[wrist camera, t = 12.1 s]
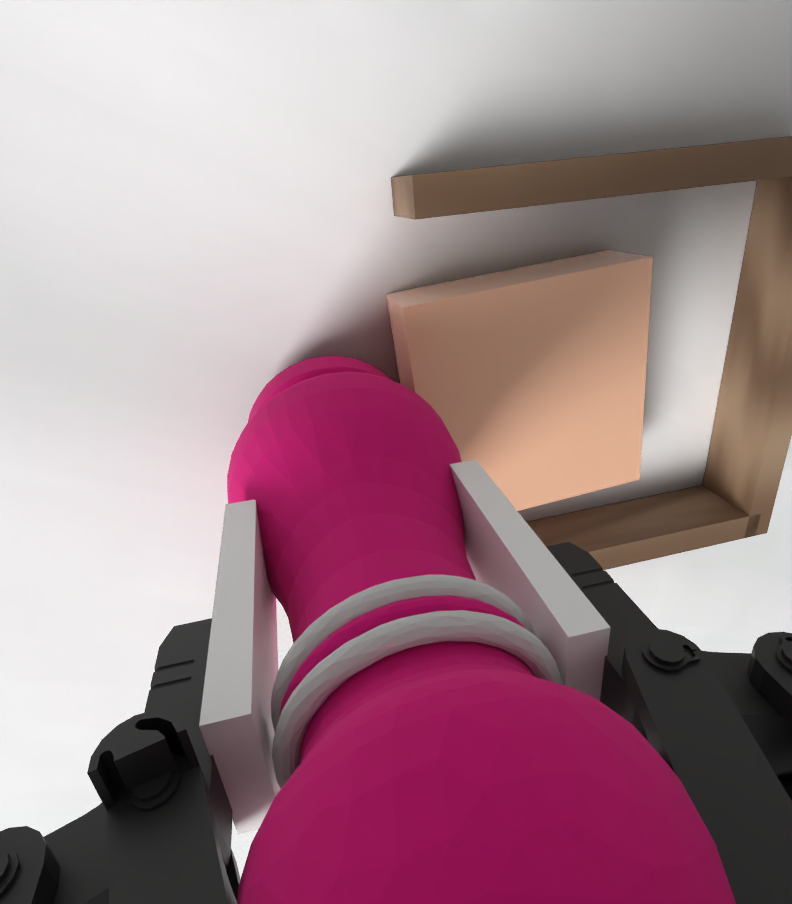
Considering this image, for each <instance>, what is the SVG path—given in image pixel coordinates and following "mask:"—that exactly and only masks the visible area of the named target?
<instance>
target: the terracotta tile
mask: <svg viewBox="0 0 792 904" xmlns="http://www.w3.org/2000/svg"><path fill="white" fill-rule="evenodd" d="M652 266H653V257H651V256H644V255H638V254H632V253H626V252H620V251H613V250H606V251H601V252H596V253H591V254H586V255H581V256H576V257H571V258H565V259H560V260H555V261H550V262H545V263H540V264H535V265H530V266H525V267H520V268H515V269H510V270H505V271H500V272H495V273H489V274H484V275H479V276H474V277H469V278H464V279H459V280H454V281H449V282H444V283H439V284H434V285H429V286H424V287H418V288H413V289H408V290H403V291H398V292H393V293H388V294H386V296H387V302H388V309H389V315H390V321H391V328H392V334H393V341H394V347H395V354H396V360H397V367H398V373H399V380H400V384H402V385H404V386H405V387H407V388H408V389H410V390H412V391H413V392H415V393H417V394H418V395H419V396H420V397H422V398H423V399H424V400H425V401H426V402H427V403H428V404H430V405H431V406H432V408H433V409H434V410H435V411H436V413H437V414H438V415H439V416H440V418H441V419H442V421H443V423H444V424H445V426H446V428H447V430H448V431H449V433H450V435H451V437H452V439H453V441H454V442H455V444H456V446H457V448H458V450H459V453H460V457H461V461H462V462H465V461H470V460H477V461H478V463H479V464H480V465H481V466H482V468H483V469H484V470H485V471H486V473H487V474H488V475H489V476H490V478H491V479H492V480H493V481H494V483H495V484H496V485H497V486H498V488H499V489H500V490H501V491H502V493H503V494H504V495H505V496H506V498H507V499H508V500H509V501H510V503H511V504H512V505H513V506H514V508H515V509H516V510H517V511H520V510H524V509H528V508H532V507H535V506H539V505H543V504H547V503H551V502H555V501H559V500H563V499H566V498H570V497H574V496H578V495H582V494H586V493H590V492H594V491H597V490H601V489H605V488H609V487H613V486H617V485H621V484H625V483H628V482H632V481H636V480H640V466H641V450H642V433H643V416H644V400H645V383H646V366H647V350H648V333H649V316H650V300H651V283H652Z"/></svg>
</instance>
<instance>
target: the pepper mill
mask: <svg viewBox="0 0 792 904" xmlns="http://www.w3.org/2000/svg"><path fill="white" fill-rule="evenodd" d="M459 462H462V461H461V457H460V453H459V450H458V448H457V446H456V444H455V442H454V441H453V439H452V437H451V435H450V433H449V431H448V430H447V428H446V426H445V424H444V423H443V421H442V419H441V418H440V416H439V415H438V414H437V413H436V411H435V410H434V409H433V408H432V406H431V405H430V404H428V403H427V402H426V401H425V400H424V399H423V398H422V397H420V396H419V395H418V394H417V393H415V392H413V391H412V390H410V389H408V388H407V387H405V386H404V385H402V384H399V383H397V382H395V381H392V380H391V379H390V378H389V377H388V376H387V375H386V374H385V373H383V372H382V371H380V370H379V369H377V368H376V367H374V366H372V365H370V364H368V363H366V362H363V361H361V360H359V359H354V358H349V357H344V356H321V357H316V358H311V359H307V360H304V361H302V362H299V363H297V364H294V365H292V366H289V367H288V368H286V369H285V370H283V371H282V372H281V373H279V374H278V375H276V376H275V377H274V378H273V379H272V380H271V381H270V382H269V383H268V384H267V385H266V386H265V388H264V389H263V390H262V392H261V393H260V395H259V396H258V398H257V399H256V401H255V403H254V405H253V407H252V410H251V412H250V415H249V420H248V423H247V425H246V427H245V428H244V430H243V432H242V433H241V435H240V437H239V439H238V441H237V443H236V446H235V448H234V450H233V452H232V455H231V460H230V466H229V471H228V476H227V492H228V504H231V503H237V502H243V501H248V500H256V505H257V512H258V519H259V526H260V534H261V541H262V547H263V553H264V559H265V564H266V570H267V576H268V581H269V584H270V586H271V589H272V591H273V594H274V595H275V596H276V598H277V599H278V600H279V602H280V603H281V604H282V606H283V608H284V610H285V612H286V614H287V616H288V619H289V623H290V628H291V633H292V638H293V642H294V644H293V645H292V647H291V649H290V650H289V652H288V653H287V655H286V656H285V658H284V659H283V662H282V664H281V666H280V669H279V671H278V673H277V676H276V679H275V682H274V686H273V690H272V696H271V719H272V723H273V728H274V732H275V736H274V740H273V747H272V760H273V766H274V771H275V775H276V780H277V783H278V785H279V787H280V789H281V790H280V791H279V792H278V794H277V795H276V796H275V798H274V800H273V802H272V804H271V806H270V808H269V810H268V812H267V814H266V816H265V818H264V820H263V822H262V824H261V826H260V828H259V830H258V832H257V834H256V836H255V838H254V840H253V842H252V844H251V847H250V850H249V853H248V857H247V860H246V863H245V867H244V870H243V873H242V877H241V880H240V883H239V887H238V898H237V904H736V902H735V899H734V896H733V893H732V890H731V887H730V885H729V882H728V879H727V876H726V873H725V870H724V867H723V864H722V861H721V859H720V856H719V853H718V850H717V847H716V844H715V842H714V840H713V838H712V836H711V835H710V833H709V831H708V829H707V827H706V825H705V824H704V822H703V820H702V818H701V816H700V815H699V813H698V811H697V809H696V807H695V806H694V804H693V802H692V800H691V798H690V797H689V795H688V793H687V791H686V789H685V788H684V786H683V784H682V782H681V781H680V779H679V778H678V777H677V775H676V774H675V773H674V772H673V770H672V769H671V768H670V767H669V765H668V764H667V763H666V762H665V760H664V759H663V758H662V757H661V756H660V755H659V754H658V752H657V751H656V750H655V749H654V748H653V747H652V745H651V744H650V743H649V742H648V741H647V740H646V739H645V738H644V737H643V735H642V734H641V733H640V732H639V731H638V730H637V729H636V728H635V727H634V725H633V724H631V723H630V722H628V721H627V720H626V719H624V718H623V717H621V716H620V715H619V714H617V713H616V712H614V711H613V710H612V709H610V708H609V707H607V706H606V705H605V704H603V703H602V702H600V701H599V700H598V699H596V698H594V697H592V696H590V695H587V694H585V693H583V692H581V691H579V690H576V689H574V688H572V687H569V686H565V685H563V681H562V677H561V674H560V671H559V669H558V666H557V663H556V661H555V660H554V658H553V656H552V655H551V653H550V652H549V650H548V649H547V647H546V646H545V645H544V644H543V643H542V642H541V640H540V639H539V638H537V636H536V633H535V631H534V629H533V626H532V624H531V622H530V620H529V619H528V617H527V616H526V614H525V613H524V611H523V610H522V609H521V608H520V607H519V606H518V605H517V604H515V603H514V602H513V601H512V600H511V599H510V598H509V597H508V596H506V595H505V594H504V593H502V592H500V591H498V590H496V589H495V588H493V587H491V586H489V585H487V584H484V583H482V582H479V581H477V580H476V578H475V576H474V573H473V571H472V569H471V566H470V564H469V561H468V559H467V556H466V550H465V544H464V540H465V530H464V522H463V515H462V510H461V506H460V502H459V498H458V494H457V490H456V486H455V483H454V479H453V476H452V472H451V469H450V465H449V464H454V463H459Z"/></svg>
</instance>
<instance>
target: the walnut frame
mask: <svg viewBox="0 0 792 904" xmlns="http://www.w3.org/2000/svg"><path fill="white" fill-rule="evenodd" d="M755 180H757V186H756V191H755V197H754V203H753V208H752V214H751V219H750V225H749V230H748V236H747V242H746V247H745V253H744V258H743V264H742V269H741V275H740V280H739V286H738V292H737V297H736V303H735V308H734V314H733V319H732V325H731V330H730V336H729V342H728V347H727V353H726V358H725V364H724V369H723V375H722V381H721V386H720V392H719V397H718V403H717V408H716V414H715V419H714V425H713V431H712V436H711V442H710V447H709V453H708V458H707V464H706V469H705V475H704V481H703V485H702V486H697V487H692V488H687V489H683V490H678V491H673V492H668V493H663V494H659V495H654V496H649V497H644V498H639V499H635V500H630V501H625V502H620V503H615V504H611V505H606V506H601V507H596V508H591V509H587V510H582V511H577V512H572V513H567V514H563V515H558V516H553V517H548V518H543V519H539V520H534V521H529V522H526V523H527V524H528V525H529V526H530V528H531V529H532V530H533V531H534V532H535V534H536V535H537V536H538V537H539V539H540V540H541V541H542V542H543V544H544V545H545V546H551V545H556V544H560V543H565V542H570V543H572V544H574V545H576V546H578V547H579V548H581V549H583V550H585V551H587V552H588V553H590V555H591V556H592V557H593V558H594V559H595V560H596V561H597V562H598V563H599V564H600V566H601V567H602V569H603V570H606V569H611V568H615V567H620V566H624V565H628V564H633V563H637V562H642V561H646V560H650V559H655V558H659V557H664V556H668V555H672V554H677V553H681V552H685V551H690V550H694V549H699V548H703V547H707V546H712V545H716V544H721V543H725V542H729V541H734V540H738V539H742V538H747V537H751V536H756V535H760V534H764V533H767V530H768V526H769V522H770V518H771V514H772V510H773V506H774V502H775V498H776V494H777V490H778V486H779V482H780V478H781V474H782V470H783V467H784V463H785V459H786V455H787V451H788V447H789V443H790V439H791V435H792V136H790V137H780V138H770V139H760V140H751V141H741V142H731V143H721V144H711V145H701V146H691V147H682V148H672V149H662V150H652V151H642V152H632V153H623V154H613V155H603V156H593V157H583V158H573V159H563V160H554V161H544V162H534V163H524V164H514V165H504V166H495V167H485V168H475V169H465V170H455V171H445V172H436V173H426V174H416V175H407V176H399V177H391V184H392V196H393V207H394V216H399V217H404V218H410V219H423V218H431V217H440V216H449V215H458V214H466V213H475V212H484V211H493V210H501V209H510V208H519V207H527V206H536V205H545V204H554V203H562V202H571V201H580V200H589V199H597V198H606V197H615V196H624V195H632V194H641V193H650V192H658V191H667V190H676V189H685V188H693V187H702V186H711V185H720V184H728V183H737V182H746V181H755Z"/></svg>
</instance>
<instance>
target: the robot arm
mask: <svg viewBox="0 0 792 904" xmlns="http://www.w3.org/2000/svg"><path fill="white" fill-rule="evenodd" d="M449 465H450V469H451V472H452V476H453V479H454V483H455V486H456V490H457V494H458V498H459V502H460V506H461V510H462V515H463V522H464V530H465V540H464V544H465V550H466V556H467V559H468V561H469V564H470V566H471V569H472V571H473V573H474V576H475V578H476V580H477V581H479V582H482V583H484V584H487V585H489V586H491V587H493V588H495V589H496V590H498V591H500V592H502V593H504V594H505V595H506V596H508V597H509V598H510V599H511V600H512V601H513V602H514V603H515V604H517V605H518V606H519V607H520V608H521V609H522V610H523V611H524V613H525V614H526V616H527V617H528V619H529V620H530V622H531V624H532V626H533V629H534V631H535V633H536V636H537V638H539V639H540V640H541V642H542V643H543V644H544V645H545V646H546V647H547V649H548V650H549V652H550V653H551V655H552V656H553V658H554V660H555V661H556V663H557V666H558V669H559V671H560V674H561V677H562V681H563V685H565V686H569V687H572V688H574V689H576V690H579V691H581V692H583V693H585V694H587V695H590V696H592V697H594V698H596V699H598V700H599V701H600V702H602V703H603V704H605V705H606V706H607V707H609V708H610V709H612V710H613V711H614V712H616V713H617V714H619V715H620V716H621V717H623V718H624V719H626V720H627V721H628V722H630V723H631V724H633V725H634V727H635V728H636V729H637V730H638V731H639V732H640V733H641V734H642V735H643V737H644V738H645V739H646V740H647V741H648V742H649V743H650V744H651V745H652V747H653V748H654V749H655V750H656V751H657V752H658V754H659V755H660V756H661V757H662V758H663V759H664V760H665V762H666V763H667V764H668V765H669V767H670V768H671V769H672V770H673V772H674V773H675V774H676V775H677V777H678V778H679V779H680V781H681V782H682V784H683V786H684V788H685V789H686V791H687V793H688V795H689V797H690V798H691V800H692V802H693V804H694V806H695V807H696V809H697V811H698V813H699V815H700V816H701V818H702V820H703V822H704V824H705V825H706V827H707V829H708V831H709V833H710V835H711V836H712V838H713V840H714V842H715V844H716V847H717V850H718V853H719V856H720V859H721V861H722V864H723V867H724V870H725V873H726V876H727V879H728V882H729V885H730V887H731V890H732V893H733V896H734V899H735V902H736V904H792V633H786V632H774V633H767V634H765V635H763V636H761V637H759V638H758V639H757V641H756V643H755V645H754V646H753V650H752V654H747V653H720V652H707V651H701V650H700V649H699V647H698V646H697V645H696V644H694V643H693V642H691V641H690V640H688V639H687V638H685V637H684V636H682V635H679V634H676V633H673V632H671V631H668V630H660V629H658V628H657V627H656V626H655V625H654V624H653V623H652V622H651V621H650V620H649V618H648V617H647V616H646V615H645V614H644V613H643V612H642V611H641V610H640V609H639V607H638V606H637V605H636V604H635V603H634V602H633V601H632V600H631V599H630V598H629V596H628V595H627V594H626V593H625V592H624V591H623V590H622V589H621V588H620V587H619V585H618V584H617V583H614V581H613V579H612V578H611V577H610V575H609V574H608V573H607V572H606V571H603V569H602V567H601V566H600V564H599V563H598V562H597V561H596V560H595V559H594V558H593V557H592V556H591V555H590V553H588V552H587V551H585V550H583V549H581V548H579V547H578V546H576V545H574V544H572V543H570V542H565V543H560V544H556V545H551V546H545V545H544V544H543V542H542V541H541V540H540V539H539V537H538V536H537V535H536V534H535V532H534V531H533V530H532V529H531V528H530V526H529V525H528V524H527V523H526V521H525V520H524V519H523V518H522V516H521V515H520V514H519V513H518V511H517V510H516V509H515V508H514V506H513V505H512V504H511V503H510V501H509V500H508V499H507V498H506V496H505V495H504V494H503V493H502V491H501V490H500V489H499V488H498V486H497V485H496V484H495V483H494V481H493V480H492V479H491V478H490V476H489V475H488V474H487V473H486V471H485V470H484V469H483V468H482V466H481V465H480V464H479V463H478V461H477V460H470V461H465V462H459V463H454V464H449ZM277 673H278V650H277V619H276V596H275V595H274V594H273V591H272V589H271V586H270V584H269V581H268V576H267V570H266V564H265V559H264V553H263V547H262V541H261V534H260V526H259V519H258V512H257V505H256V500H248V501H243V502H237V503H231V504H226V507H225V515H224V523H223V532H222V540H221V548H220V557H219V565H218V573H217V582H216V590H215V598H214V607H213V615H212V618H211V619H207V620H202V621H197V622H192V623H188V624H183V625H178V626H174V627H173V629H172V630H171V631H170V633H169V634H168V636H167V637H166V638H165V640H164V641H163V643H162V644H161V645H160V647H159V651H158V655H157V660H156V664H155V672H154V673H153V677H152V682H151V690H149V695H148V699H147V703H146V708H145V712H144V713H142V714H139V715H135V716H133V717H132V718H130V719H128V720H126V721H125V722H123V723H121V724H119V725H118V726H116V727H115V728H114V729H113V730H112V731H111V732H110V733H109V734H108V735H107V736H106V737H105V738H103V739H102V741H101V742H100V744H99V745H98V747H97V748H96V750H95V751H94V753H93V755H92V756H91V760H90V764H89V768H88V772H87V773H88V775H89V777H90V779H91V781H92V783H93V785H94V787H95V789H96V791H97V793H98V795H99V796H100V798H101V800H102V803H101V804H100V805H99V806H97V807H96V808H94V809H93V810H91V811H90V812H88V813H86V814H85V815H83V816H81V817H80V818H78V819H76V820H74V821H72V822H70V823H69V824H67V825H65V826H63V827H61V828H59V829H58V830H56V831H54V832H52V833H50V834H48V835H47V836H45V837H43V836H42V835H41V833H40V832H39V831H37V830H34V829H32V828H30V827H28V826H24V827H13V828H8V829H5V830H3V831H1V832H0V904H237V898H238V887H239V883H240V876H239V872H238V867H237V863H236V860H235V858H234V855H233V852H232V850H231V834H232V819H233V822H234V824H235V827H236V830H237V833H238V834H241V833H245V832H249V831H252V830H256V829H259V828H260V826H261V824H262V822H263V820H264V818H265V816H266V814H267V812H268V810H269V808H270V806H271V804H272V802H273V800H274V798H275V796H276V795H277V794H278V792H279V791H280V790H281V789H280V787H279V785H278V783H277V780H276V775H275V771H274V766H273V760H272V747H273V740H274V736H275V732H274V728H273V723H272V719H271V696H272V690H273V686H274V682H275V679H276V676H277Z"/></svg>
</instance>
